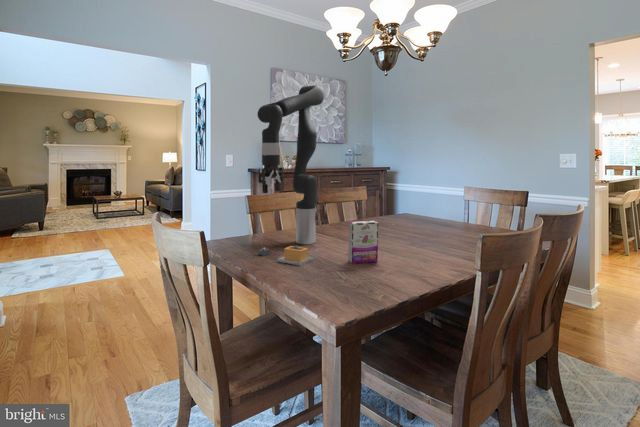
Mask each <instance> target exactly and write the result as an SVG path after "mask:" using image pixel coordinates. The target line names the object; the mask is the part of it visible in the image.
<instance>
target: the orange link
mask: <svg viewBox="0 0 640 427" xmlns="http://www.w3.org/2000/svg"><path fill="white" fill-rule="evenodd" d="M294 246H295V245H290V246H287V247H285V248H284V250H283V251H284V253H283V254H284V256H283V257H284V258H287V259H293V260H299V261H302V260H304V259H307V258H308V256H309V254H308V253H309V249H308V247H300V246H298V250H295V249H294Z"/></svg>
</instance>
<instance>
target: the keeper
mask: <svg viewBox="0 0 640 427" xmlns="http://www.w3.org/2000/svg"><path fill="white" fill-rule="evenodd" d="M293 246H294V249H295V250H298V247H299V245H293ZM313 261H315V256H310V255H308V258H307V259H304V260H302V261H299V260H293V259H287V258H284V256H282V257H279V258H277V263H283V264H288V265H294V266H299V267H301V266H305V265H306V264H308V263H310V262H313Z"/></svg>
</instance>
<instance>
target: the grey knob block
mask: <svg viewBox="0 0 640 427" xmlns="http://www.w3.org/2000/svg"><path fill="white" fill-rule="evenodd" d="M257 253H258V254H257V256H263V257H264V256H267V255H270V249H269V248H266V247H261V249H258V250H257Z"/></svg>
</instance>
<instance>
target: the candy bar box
mask: <svg viewBox="0 0 640 427" xmlns="http://www.w3.org/2000/svg"><path fill="white" fill-rule="evenodd" d="M378 250H379V222H378V221H375V220H362V221H360V220H359V221H348V256H347V257H348V262H349V263H351V264H352V265H353V264H355V265H356V264H367V263H369V262H370V263H377V262H378V259H379V258H378V257H379V256H378V255H379V254H378Z"/></svg>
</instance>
